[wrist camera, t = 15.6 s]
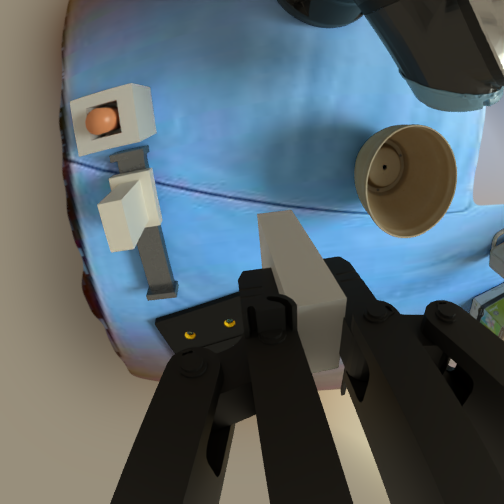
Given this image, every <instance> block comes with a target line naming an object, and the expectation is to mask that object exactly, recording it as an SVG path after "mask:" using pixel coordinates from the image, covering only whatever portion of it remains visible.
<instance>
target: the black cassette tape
mask: <svg viewBox="0 0 504 504" xmlns="http://www.w3.org/2000/svg"><path fill="white" fill-rule="evenodd" d="M238 293H239V294H238ZM211 302H212V303H211ZM241 313H242V308H241V300H240V292H237V293H234V294H231V295H228V296H225V297H222V298H219V299H216V300H212V301H209V302H206V303H203V304H200V305H197V306H194V307H191V308H188V309H185V310H182V311H178V312H175V313H172V314H169V315H166V316H163V317H159V318H156V321H155V325H156V327H157V328H158V330H159V331H160V333H161V334H162V336H163V337H164V339H165V340H166V341H167V343H168V344H169V346H170V347H171V349H172V350H173V351H174V353H175V354H176V353H178V352H179V351H181V350H184V349H187V348H190V347H203V348H207V349H210V350H211V351H213V352H214V353H219V352H222V351H224V350H227V349H229V348H231V347H232V346H233V345H235V344H236V343H238V341H239V340H240V339H241V338H242V336H243V333H244V327H243V321H242V314H241ZM158 319H159V320H158ZM227 319H233V320H234V321H233V322H232V323H227V322H225V321H226V320H227ZM232 326H233V327H232ZM188 331H191V332H194V334H192V335H189V334H187V332H188Z"/></svg>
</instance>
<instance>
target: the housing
mask: <svg viewBox="0 0 504 504" xmlns="http://www.w3.org/2000/svg"><path fill="white" fill-rule="evenodd" d="M70 107H71V114H72V120H73V126H74V132H75V138H76V143H77V148H78V153H79V157H80V156H84V155H87V154H91V153H95V152H98V151H102V150H106V149H110V148H114V147H119V146H123V145H127V144H132V143H136V142H140V141H142V140H144V139H146V138H148V137H150V136H152V135H154V134H156V133H157V132H156V125H155V119H154V112H153V105H152V97H151V89H150V87H147V86H143V85H138V84H134V83H130V84H126V85H122V86H118V87H115V88H111V89H108V90H104V91H101V92H97V93H94V94H91V95H88V96H85V97H82V98H79V99H76V100H73V101H70ZM106 107H118V112H119V119H120V125H121V127H120V128H118V129H116V130H112V131H109V132H106V133H103V134H99V135H94V134H91V133H90V132H89V131H88V130H87V128H86V124H85V121H86V117H87V115H88V114H89V112H90V111H92V110H93V109H96V108H106Z"/></svg>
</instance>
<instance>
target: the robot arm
mask: <svg viewBox="0 0 504 504" xmlns="http://www.w3.org/2000/svg"><path fill="white" fill-rule="evenodd" d="M277 1H278V2H279V4H280V5H281V6H282V7H283V8H284V9H285V10H286V11H287V12H288V13H289V14H291V15H292V16H294V17H295V18H297V19H299V20H300V21H302V22H305V23H307V24H310V25H313V26H317V27H323V28H337V27H342V26H346V25H348V24H350V23H352V22H354V21H356V20H358V19H359V18H361V17H362V16H363V15H364V16H365V15H366V16H365V17H366V19H367V20H368V21H369V23H370V24H371V26H372V27H373V29H374V30H375V32H376V33H377V35H378V36H379V38H380V39H381V41H382V42H383V44H384V45H385V47H386V48H387V50H388V52H389V53H390V55H391V57H392V58H393V60H394V62H395V63H396V65H397V67H398V68H399V73H400V75H401V76H402V77H403V78H404V79H405V80H406V81H407V83H408V85H409V86H410V88H411V90H412V91H413V93H414V95H415V96H416V98H417V99H418V100H419V101H420V102H422V103H424V104H425V105H426V106H428V107H431V108H433V109H437V110H441V111H448V112H467V111H474V110H479V109H482V108H483V106H491V105H493V104H495V103H496V102H498V101H499V100H500V99H501V98H502V96H503V90H504V0H277ZM382 7H383V8H382ZM257 217H258V228H259V238H260V249H261V259H262V269H256V270H249V271H243V272H242V274H241V276H240V277H239V279H238V284H239V292H240V300H241V308H242V313H241V314H242V321H243V327H244V333H243V336H242V338H241V339H240V340H239V341H238V343H236V344H235V345H234V346H232V347H231V348H229V349H227V350H224V351H222V352H219V353H214V352H213V351H211V350H210V349H207V348H203V347H190V348H187V349H184V350H181V351H179V352H178V353H176V354H175V355H174V356H172V358H171V359H170V360H169V362H168V363H167V365H166V368H165V370H164V372H163V375H162V377H161V379H160V382H159V384H158V386H157V389H156V391H155V393H154V396H153V398H152V401H151V403H150V405H149V408H148V410H147V412H146V415H145V417H144V420H143V422H142V424H141V427H140V429H139V432H138V434H137V437H136V439H135V442H134V444H133V447H132V449H131V452H130V454H129V457H128V459H127V462H126V464H125V467H124V469H123V472H122V474H121V477H120V480H119V482H118V485H117V487H116V490H115V492H114V495H113V498H112V500H111V503H110V504H219V500H220V496H221V491H222V486H223V481H224V477H225V472H226V467H227V463H228V458H229V452H230V448H231V443H232V438H233V433H234V428H235V423H237V422H239V421H242V420H244V419H246V418H249V417H251V416H253V415H256V417H257V424H258V430H259V436H260V443H261V450H262V456H263V463H264V469H265V475H266V481H267V487H268V493H269V499H270V504H353V501H352V498H351V495H350V491H349V488H348V485H347V482H346V479H345V475H344V472H343V469H342V466H341V463H340V459H339V456H338V453H337V450H336V447H335V443H334V441H333V437H332V434H331V431H330V428H329V425H328V422H327V418H326V415H325V412H324V409H323V406H322V403H321V400H320V397H319V394H318V391H317V388H316V385H315V382H314V379H313V376H312V373H316V372H321V371H326V370H330V369H335V368H338V367H339V360H340V357H341V359H342V361H343V364H344V366H345V368H344V374H343V380H342V385H341V395H344V394H345V391H346V387H347V389H348V392H349V394H350V397H351V399H352V402H353V404H354V407H355V409H356V412H357V414H358V417H359V419H360V422H361V425H362V427H363V430H364V432H365V435H366V437H367V440H368V443H369V446H370V448H371V451H372V453H373V456H374V459H375V462H376V464H377V467H378V470H379V472H380V475H381V478H382V480H383V483H384V486H385V489H386V492H387V495H388V497H389V500H390V503H391V504H504V341H503V340H502V339H501V338H499V337H498V336H497V335H496V334H494V333H493V332H492V331H491V330H489V329H488V328H487V327H486V326H484V325H483V324H482V323H480V322H479V321H478V320H477V319H475V318H474V317H473V316H471V315H470V314H469V313H467V312H466V311H465V310H463V309H462V308H461V307H459V306H458V305H456V304H454V303H452V302H449V301H445V300H437V301H434V302H431V303H430V304H429V305H427V306H426V310H425V313H424V315H403V314H400V313H399V312H398V310H397V309H396V308H395V307H393V306H392V305H391V304H389V303H387V302H384V301H379V300H377V299H376V298H375V297H374V295H373V294H372V292H371V291H370V290H369V288H368V287H367V285H366V284H365V283H364V281H363V280H362V279H361V278H360V276H359V274H358V273H357V272H356V270H355V269H354V268H353V266H352V265H351V264H350V262H348V261H346V260H344V259H343V258H341V257H332V258H326V259H323V258H322V257H321V255H320V254H319V252H318V250H317V249H316V247H315V246H314V244H313V243H312V241H311V239H310V238H309V236H308V235H307V233H306V232H305V230H304V229H303V227H302V225H301V224H300V222H299V221H298V219H297V218H296V216H295V215H294V213H293V212H292V210H286V211H278V212H270V213H261V214H257ZM450 359H452V360H453V361H455V362H456V363H457V365H456V367H455V368H453V367H450V366H449V365H448V363H449V361H450Z"/></svg>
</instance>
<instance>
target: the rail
mask: <svg viewBox="0 0 504 504" xmlns="http://www.w3.org/2000/svg"><path fill="white" fill-rule="evenodd" d="M148 152H149V146H148V145H147V146H142V147H137V148H132V149H128V150H123V151H119V152H116V153H114V154H112V155H110V156H109V157H110V162H111V163H113V162H118V167H119V172H120V174H122V173H127V172H131V171H136V170H141V169H146V168H149V165H148V159H147V153H148ZM137 246H138V250H139V253H140V257H141V260H142V264H143V267H144V271H145V274H146V277H147V280H148V284H149V288H148V291H147V295H146V297H147V299H148V300H157V299H166V298H175V297H177V292H178V286H179V285H178V281H174V277H173V273H172V270H171V266H170V262H169V258H168V254H167V249H166V245H165V241H164V237H163V233H162V228H161V225H158V226H152V227H146V228H144V230H143V232H142V234H141V236H140V238H139V240H138V242H137Z"/></svg>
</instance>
